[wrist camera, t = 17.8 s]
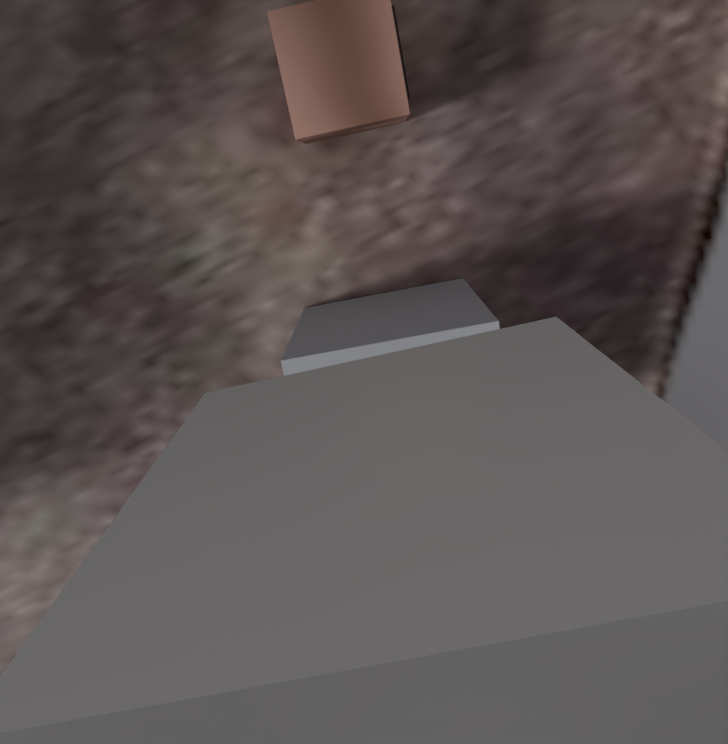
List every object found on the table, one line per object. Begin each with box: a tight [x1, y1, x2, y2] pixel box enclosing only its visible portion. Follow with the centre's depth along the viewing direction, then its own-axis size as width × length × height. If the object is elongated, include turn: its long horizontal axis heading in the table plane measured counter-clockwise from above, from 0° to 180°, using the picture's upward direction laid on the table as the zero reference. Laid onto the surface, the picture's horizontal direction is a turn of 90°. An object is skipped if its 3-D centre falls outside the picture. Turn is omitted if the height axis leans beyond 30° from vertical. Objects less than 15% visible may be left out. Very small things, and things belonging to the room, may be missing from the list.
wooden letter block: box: [267, 0, 410, 144], centre depth 29 cm, size 5×5×5 cm
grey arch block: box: [281, 278, 500, 376], centre depth 31 cm, size 9×9×10 cm
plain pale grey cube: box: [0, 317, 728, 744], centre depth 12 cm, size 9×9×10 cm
